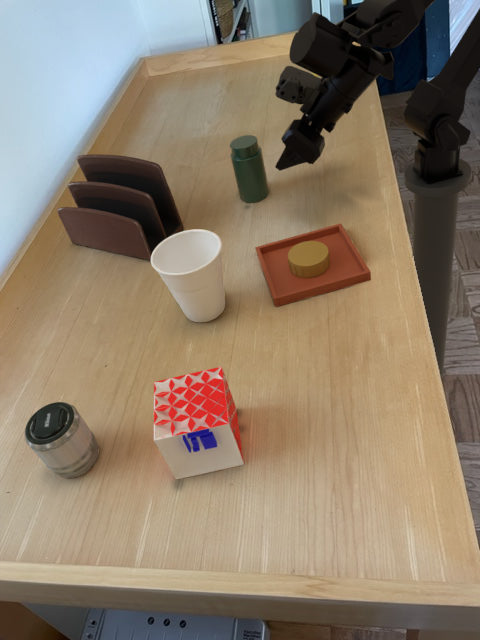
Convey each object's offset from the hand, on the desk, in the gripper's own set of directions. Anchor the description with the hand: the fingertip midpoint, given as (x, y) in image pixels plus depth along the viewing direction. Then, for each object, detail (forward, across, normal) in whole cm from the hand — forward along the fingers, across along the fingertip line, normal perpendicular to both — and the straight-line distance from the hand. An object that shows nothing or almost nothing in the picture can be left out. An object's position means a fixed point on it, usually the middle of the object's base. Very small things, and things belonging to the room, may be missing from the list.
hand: (285, 154), depth 92 cm
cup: (+9, +31, +2) cm, 32 cm away
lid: (-2, +20, +10) cm, 22 cm away
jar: (+11, 0, +1) cm, 11 cm away
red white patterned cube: (+3, +52, +9) cm, 53 cm away
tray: (0, +20, +12) cm, 23 cm away
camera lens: (+14, +58, -2) cm, 59 cm away
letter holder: (+25, +14, -14) cm, 32 cm away
